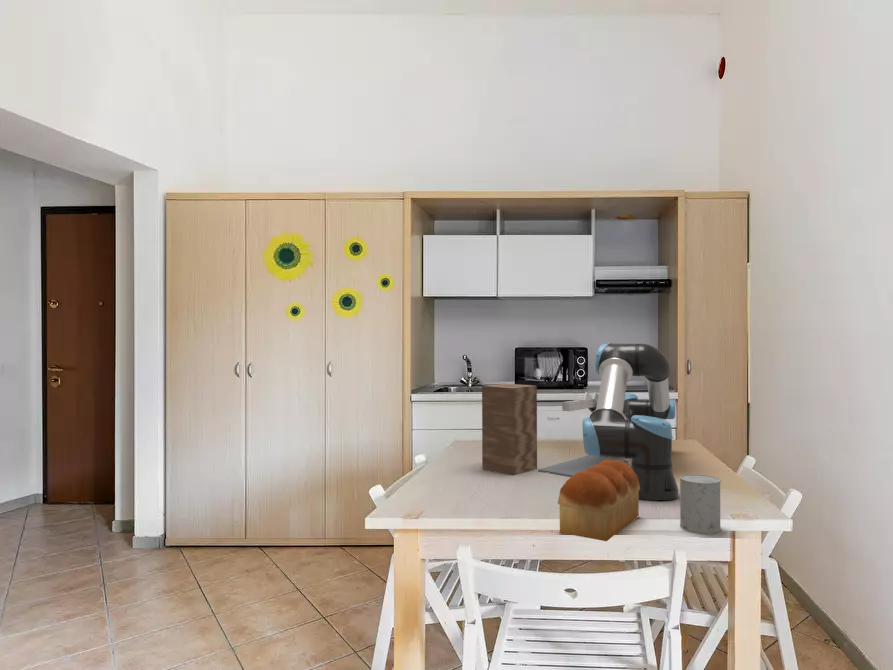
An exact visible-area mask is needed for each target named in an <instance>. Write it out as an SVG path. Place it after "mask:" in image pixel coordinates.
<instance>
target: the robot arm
mask: <svg viewBox="0 0 893 670" xmlns="http://www.w3.org/2000/svg"><path fill="white" fill-rule="evenodd" d="M595 355H596V357H595V372H596V374H597V375H599V376H600V378H601V380H600V385H599V390H598V391H599V392H593V396H592V395H591V394H590V393H589V392H587V391H585V393H584V396H583V399H586V398H593V400H594V401H595V402H596V403H597V406H596V407H592V408H587V409H588V410H589V411H590V412H591V413H590V415H589V417H585V418H583V419H582V427H581V428H582V440H583V441H582V442H583V443H582V444H583V448H584V449H583V450H584V453H585V454H586V455H587V456H588V455H590V456H597V457H609V458H616V459H631V468H632V469H633V470H634V472H635V473H636V474H637V476H638V481H639V485H640V490H639V500H644V499H645V500H646V501H655V500H664V501H671V499H673V500H675V498H676V499H678V498H679V487H678V484H677V481H676V477H675V475H674V472H673V437H674V436H673V432H672V431H673V429H672V428H673V427H672V424H671V423H670V421H668V420H674V419H676V418H675V417H676V402H675V401H674V400H670V388H669V377H670V376H671V372H672V371H671V370H672V369H671V364H670V361H669V360H668V358H667V356H666V355H665V354H664V352H662V351H661V350H659V349H658V348H657V347H655V346H653V345H650V344H647V343H613V342H609V343H603V344H601V345H599V346H598V349H597V350H596V354H595ZM632 377H644V378H645V379H646V383H647V384H646V385H647V391H648V399H639V397H638V395H636V394H634V393H630V392H626V391H627V385H628V384H627V383H628V382H630V380H631V379H632ZM677 497H678V498H677Z"/></svg>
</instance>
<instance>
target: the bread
mask: <svg viewBox="0 0 893 670" xmlns="http://www.w3.org/2000/svg"><path fill="white" fill-rule="evenodd" d="M639 490H640V485H639V481H638V476H637V474H636V473H635V472H634V470H633V469H632V466H630V465H629V464H627V462H626V463H624V462H623V461H615V460H604V461H602V462H600V463H599V464H597V465H594V466H592V467H590V468H588V469H587V470H585V471H580V472H578V473H576V474H575V475H574V476H572V477H570V478H568V479H567V480H566V481H565V483H563V485H562V486H561V488H560V491H559V495H558V500H557V504H558V505H559V533H560V534H566V535H569V536H570V535H571V536H575V537H581V538H587V539H592V540H597V541H601V542H607V541H609V540H610V539H611V538H613V537H614V536H616V535H617V534H618V533H619V532H620V531H622V530H623V529H624V528H626V527H628V525H630V524H631V523H632V522H633V520H634V519H635V518H636V517H637V516H640V515H639V508H640V507H639V506H640V505H639V503H640V502H639V500H640V499H639ZM637 518H638V517H637ZM637 518H636V519H637ZM636 519H635V520H636ZM635 520H634V521H635Z"/></svg>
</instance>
